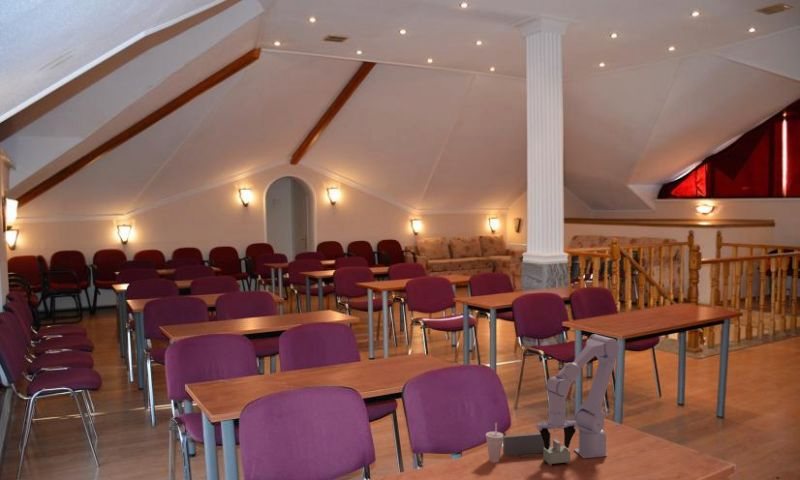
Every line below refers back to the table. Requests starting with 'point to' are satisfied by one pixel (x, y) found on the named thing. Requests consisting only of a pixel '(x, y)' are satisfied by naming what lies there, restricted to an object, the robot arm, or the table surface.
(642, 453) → the table surface
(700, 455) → the table surface
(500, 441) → the smoothie
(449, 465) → the table surface
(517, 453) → the wall board
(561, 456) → the grey block
